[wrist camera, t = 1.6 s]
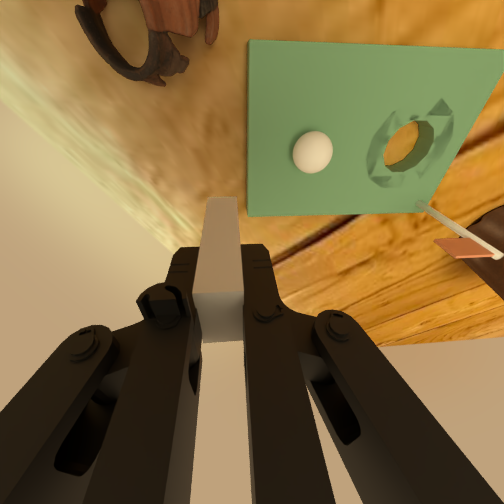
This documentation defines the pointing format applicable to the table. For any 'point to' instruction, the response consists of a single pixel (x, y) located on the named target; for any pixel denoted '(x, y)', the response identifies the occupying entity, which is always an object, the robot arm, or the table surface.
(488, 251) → the flag pin
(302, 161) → the ball
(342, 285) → the table surface
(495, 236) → the plant pot
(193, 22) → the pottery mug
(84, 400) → the robot arm
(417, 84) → the green
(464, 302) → the table surface
